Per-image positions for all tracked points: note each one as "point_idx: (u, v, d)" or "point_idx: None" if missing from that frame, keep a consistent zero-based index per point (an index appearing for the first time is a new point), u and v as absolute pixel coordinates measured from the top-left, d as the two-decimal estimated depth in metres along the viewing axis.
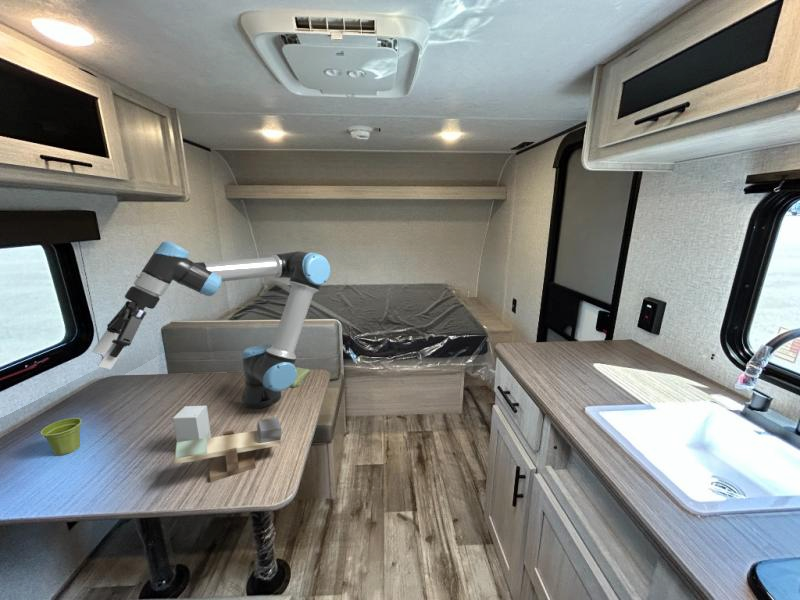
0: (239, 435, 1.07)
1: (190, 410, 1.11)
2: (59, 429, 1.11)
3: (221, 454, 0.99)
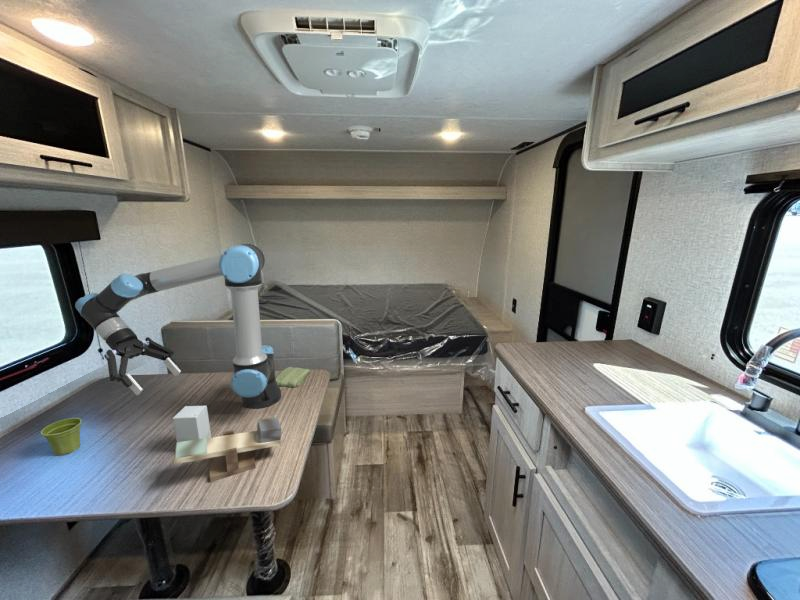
0: (239, 435, 1.07)
1: (190, 410, 1.11)
2: (59, 429, 1.11)
3: (221, 454, 0.99)
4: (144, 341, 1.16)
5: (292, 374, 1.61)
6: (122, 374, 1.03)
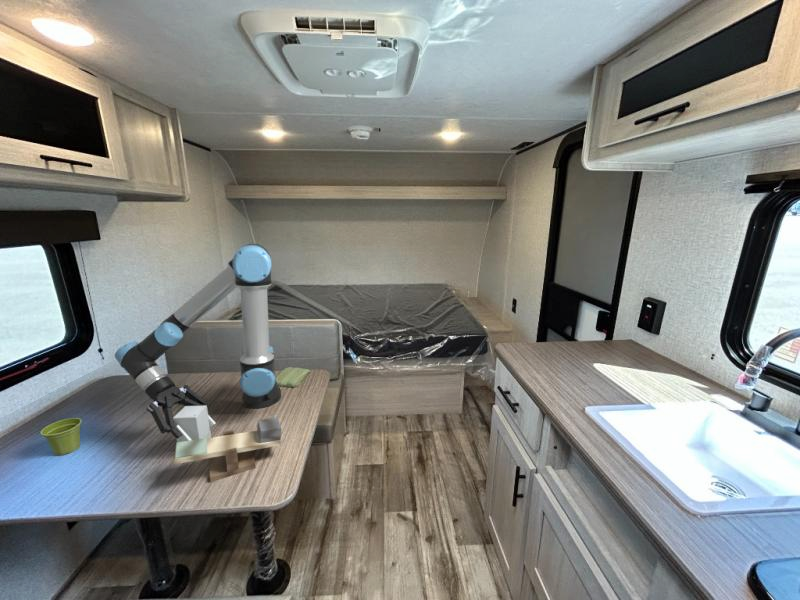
0: (239, 435, 1.07)
1: (190, 410, 1.11)
2: (59, 429, 1.11)
3: (221, 454, 0.99)
4: (182, 389, 1.16)
5: (292, 374, 1.60)
6: (172, 426, 1.06)
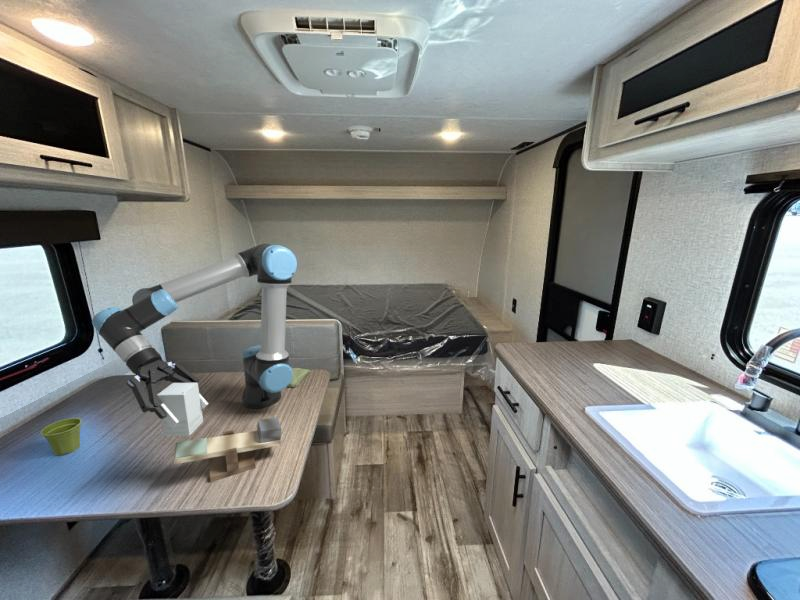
0: (239, 435, 1.07)
1: (177, 386, 0.95)
2: (59, 429, 1.11)
3: (221, 454, 0.99)
4: (170, 363, 1.00)
5: None
6: (156, 404, 0.90)
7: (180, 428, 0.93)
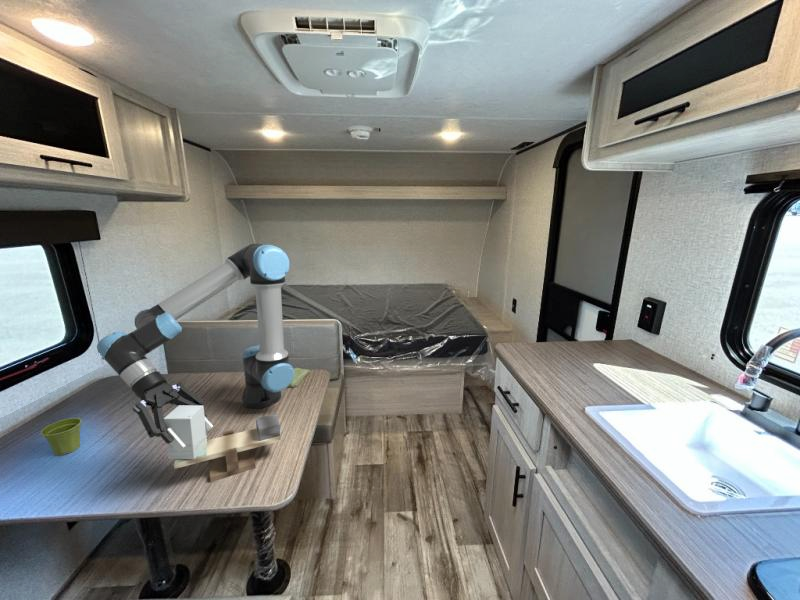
0: (238, 434, 1.07)
1: (183, 410, 0.96)
2: (59, 429, 1.11)
3: (221, 455, 0.99)
4: (175, 386, 1.01)
5: None
6: (163, 429, 0.90)
7: (185, 452, 0.94)
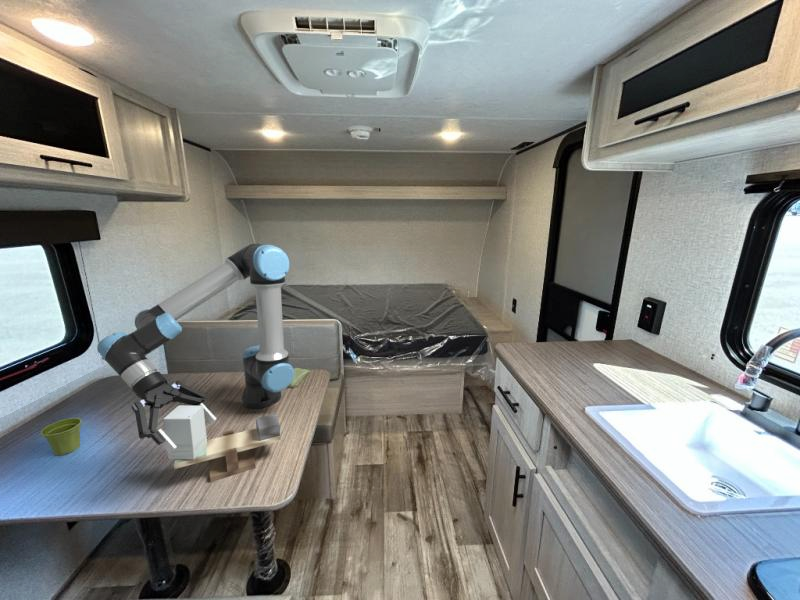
0: (238, 434, 1.07)
1: (183, 410, 0.96)
2: (59, 429, 1.11)
3: (221, 455, 0.99)
4: (174, 385, 1.01)
5: None
6: (153, 430, 0.89)
7: (185, 452, 0.94)
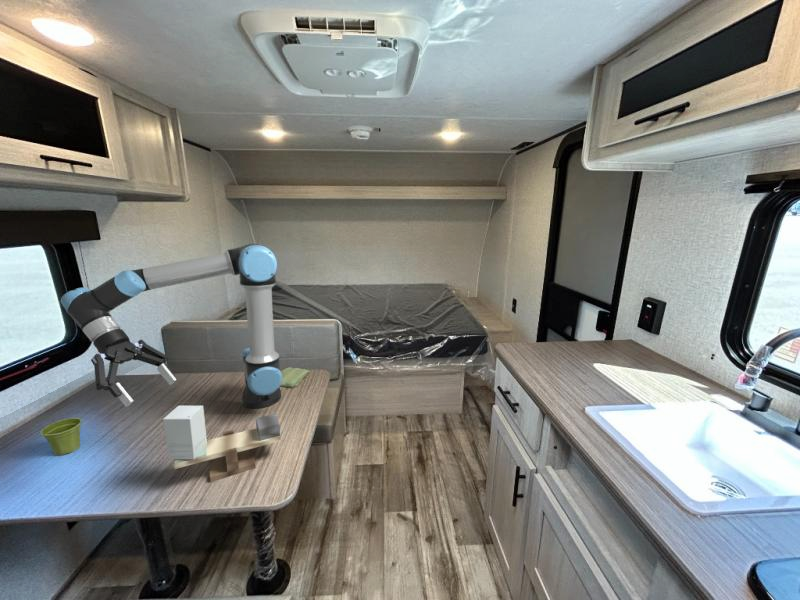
0: (238, 434, 1.07)
1: (183, 410, 0.96)
2: (59, 429, 1.11)
3: (221, 455, 0.99)
4: (137, 344, 1.04)
5: (291, 374, 1.60)
6: (111, 383, 0.92)
7: (185, 452, 0.94)
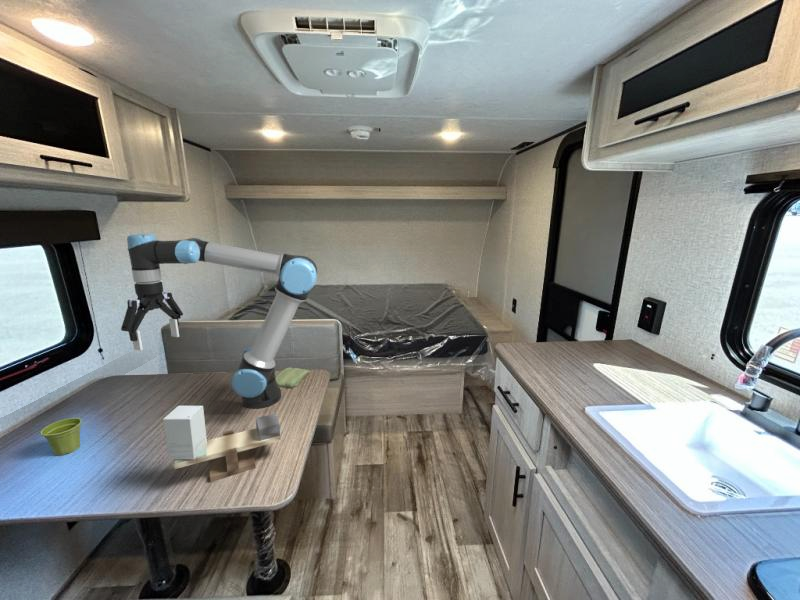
0: (238, 434, 1.07)
1: (183, 410, 0.96)
2: (59, 429, 1.11)
3: (221, 455, 0.99)
4: (165, 295, 1.19)
5: (290, 375, 1.60)
6: (134, 330, 1.08)
7: (185, 452, 0.94)
